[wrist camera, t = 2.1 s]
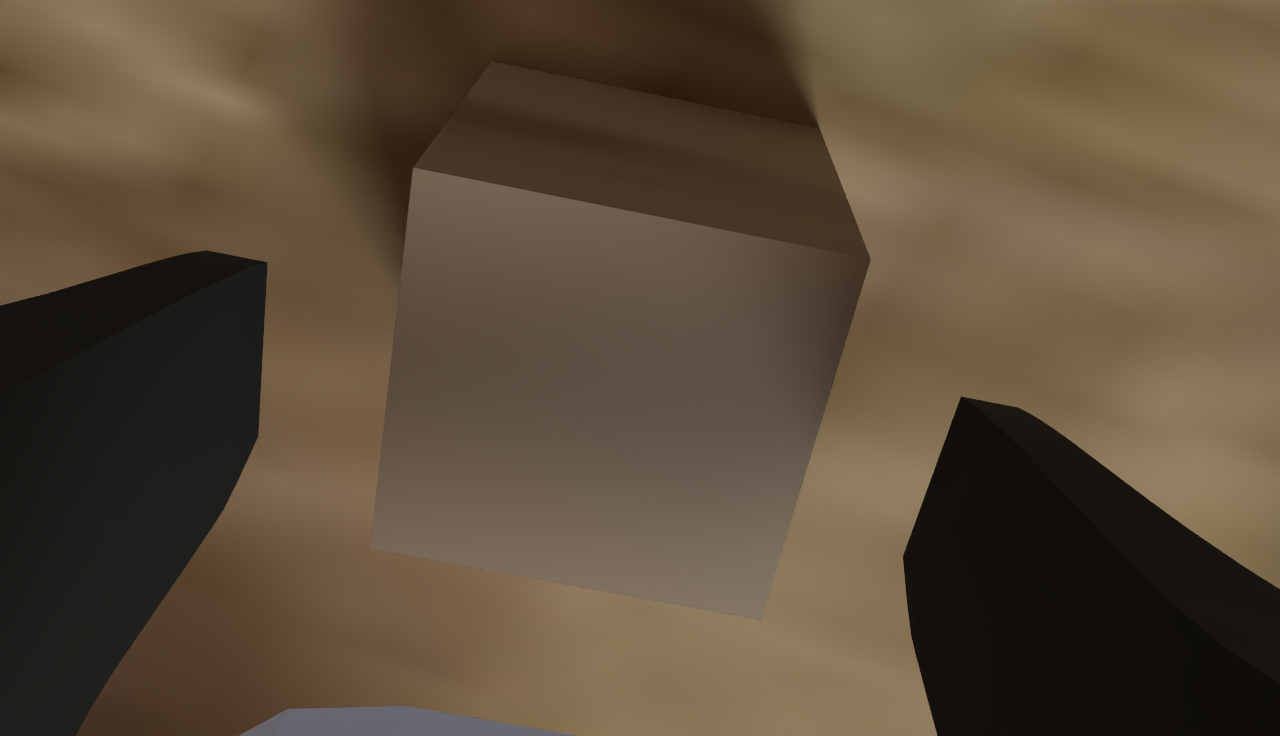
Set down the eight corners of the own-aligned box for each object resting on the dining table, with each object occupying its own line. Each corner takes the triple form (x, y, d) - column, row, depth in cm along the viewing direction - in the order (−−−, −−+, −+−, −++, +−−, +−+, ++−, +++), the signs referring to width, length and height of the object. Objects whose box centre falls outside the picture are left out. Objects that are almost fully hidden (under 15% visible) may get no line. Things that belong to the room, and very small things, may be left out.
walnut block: (742, 411, 18) (760, 620, 13) (451, 356, 18) (369, 549, 13) (818, 127, 16) (871, 259, 11) (492, 59, 16) (413, 167, 11)
